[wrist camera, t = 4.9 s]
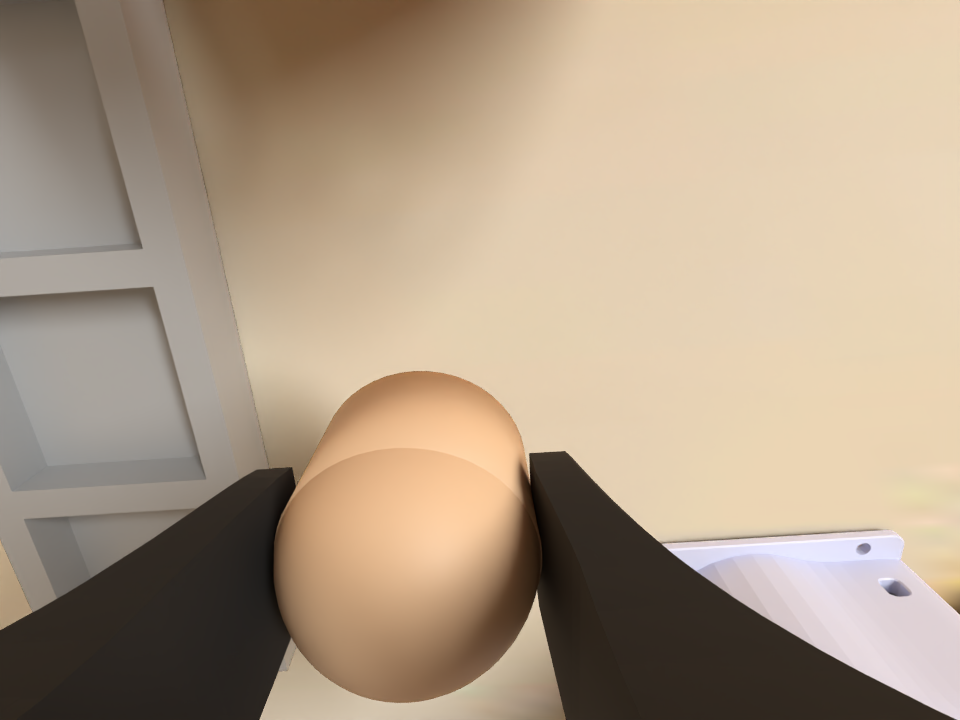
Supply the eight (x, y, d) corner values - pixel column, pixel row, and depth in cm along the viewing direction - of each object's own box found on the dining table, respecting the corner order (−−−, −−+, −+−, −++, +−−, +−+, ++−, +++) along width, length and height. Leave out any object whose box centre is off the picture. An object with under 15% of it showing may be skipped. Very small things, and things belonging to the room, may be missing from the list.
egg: (521, 364, 10) (558, 514, 6) (527, 542, 12) (560, 764, 7) (305, 377, 10) (189, 535, 6) (338, 553, 12) (261, 782, 7)
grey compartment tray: (152, -46, 14) (99, -79, 12) (304, 623, 21) (287, 671, 20) (-161, -23, 14) (-265, -53, 12) (102, 636, 22) (64, 684, 20)
